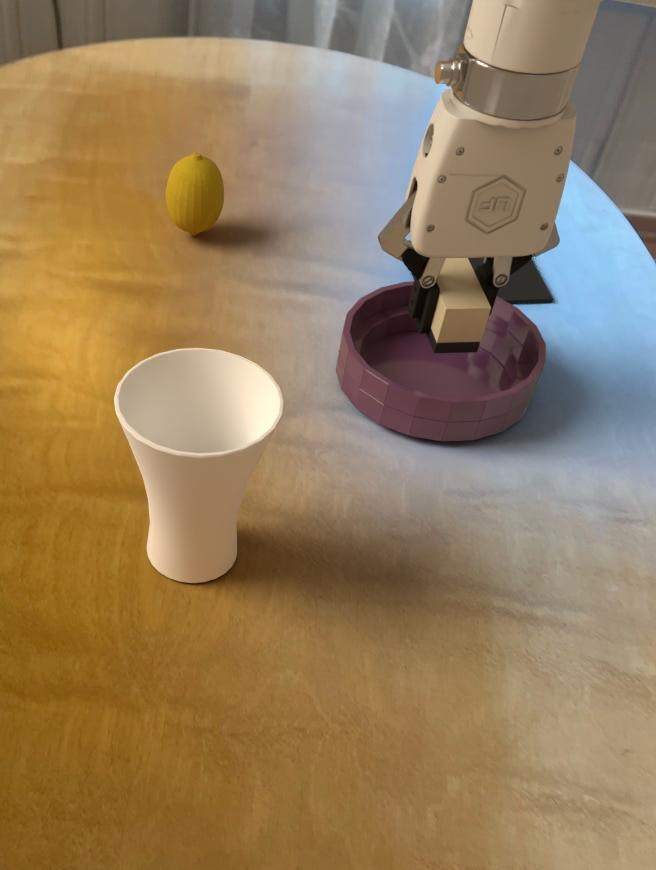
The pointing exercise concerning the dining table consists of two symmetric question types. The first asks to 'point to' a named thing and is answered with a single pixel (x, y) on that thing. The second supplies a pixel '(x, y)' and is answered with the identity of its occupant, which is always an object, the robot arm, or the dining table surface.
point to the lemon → (195, 194)
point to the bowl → (437, 370)
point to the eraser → (458, 309)
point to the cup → (196, 451)
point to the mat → (521, 285)
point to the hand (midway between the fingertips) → (446, 320)
